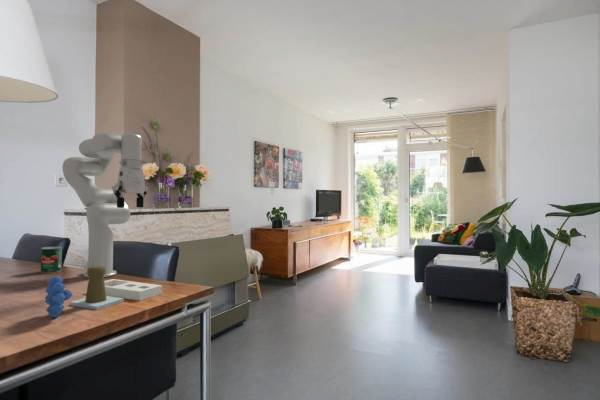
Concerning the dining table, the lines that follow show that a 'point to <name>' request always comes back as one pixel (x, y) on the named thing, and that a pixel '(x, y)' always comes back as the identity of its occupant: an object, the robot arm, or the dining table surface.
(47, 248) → the canned tomato
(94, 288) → the olive rounded piece
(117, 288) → the white board with cutout
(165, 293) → the dining table surface
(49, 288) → the grapes
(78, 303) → the rubber mat
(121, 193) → the robot arm
